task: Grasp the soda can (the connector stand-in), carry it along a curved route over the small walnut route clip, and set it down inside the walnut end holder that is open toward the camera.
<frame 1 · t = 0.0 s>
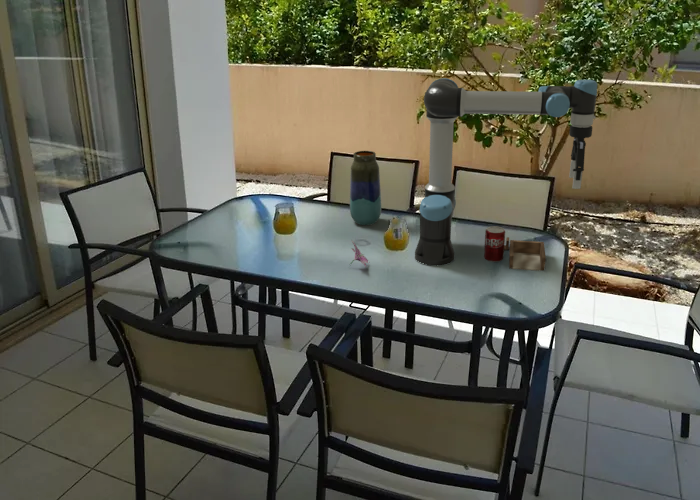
hand: (574, 183, 230), 28 cm above the table, fingers open, 13 cm apart
lily: (359, 268, 234), on the table
soda can: (493, 259, 238), on the table
vase: (365, 222, 278), on the table
end holder: (526, 263, 234), on the table
route clip: (501, 248, 247), on the table
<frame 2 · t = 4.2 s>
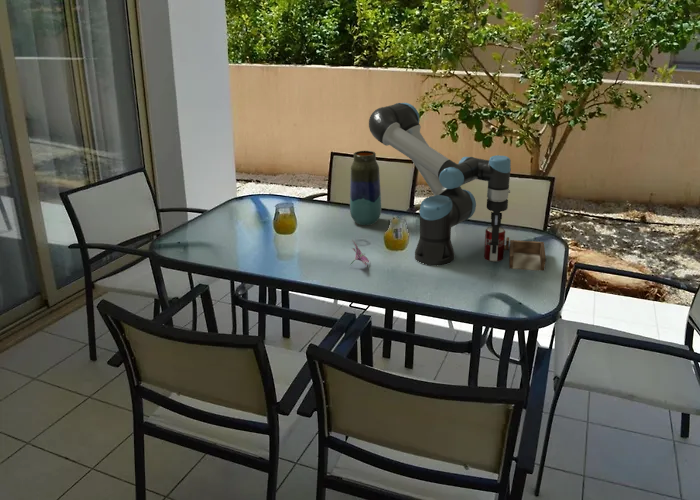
hand: (493, 256, 238), 1 cm above the table, fingers closed on soda can, 7 cm apart
soda can: (493, 259, 238), on the table, touching gripper
everything else where it was.
when the fingers open (3 cm above the table, at t = 9.5 s): soda can drops 2 cm, resting on end holder.
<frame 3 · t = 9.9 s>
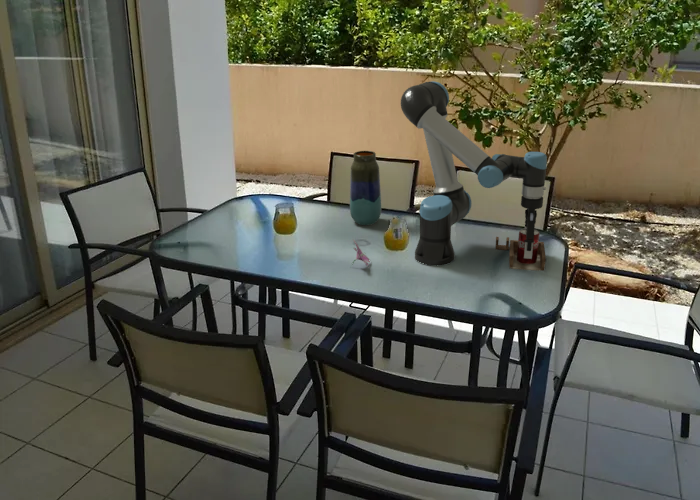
hand: (527, 250, 232), 5 cm above the table, fingers open, 13 cm apart
soda can: (526, 262, 234), resting on end holder
everything else where it was.
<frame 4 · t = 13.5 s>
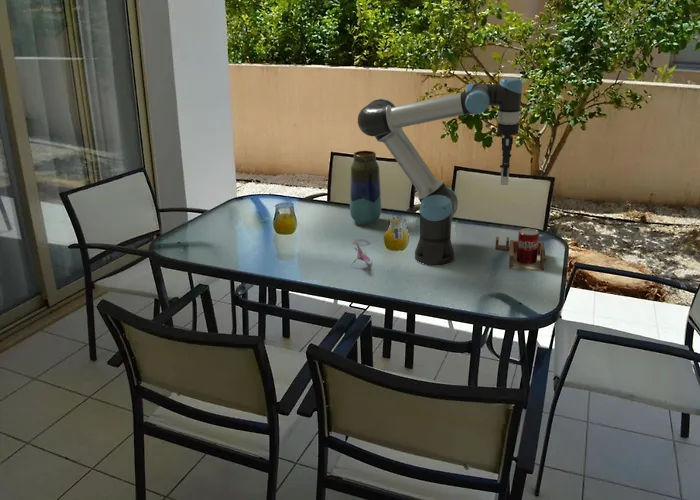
hand: (504, 179, 235), 29 cm above the table, fingers open, 13 cm apart
at the end: soda can inside the target area on the end holder (0.5 cm from its centre), point 0.4 cm above the end holder's base; soda can tilted 0°; the gripper is holding nothing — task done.
